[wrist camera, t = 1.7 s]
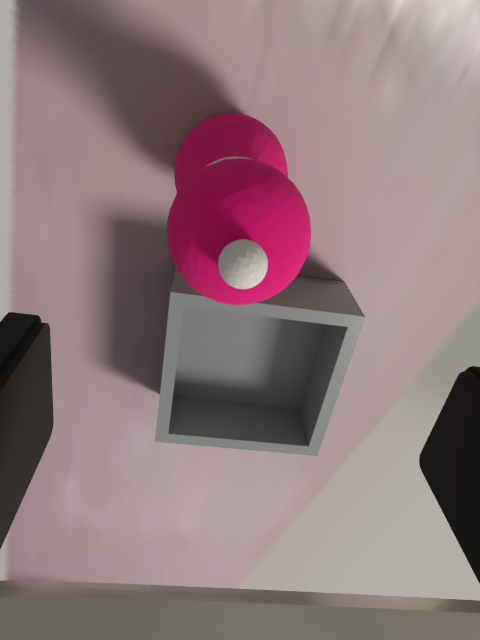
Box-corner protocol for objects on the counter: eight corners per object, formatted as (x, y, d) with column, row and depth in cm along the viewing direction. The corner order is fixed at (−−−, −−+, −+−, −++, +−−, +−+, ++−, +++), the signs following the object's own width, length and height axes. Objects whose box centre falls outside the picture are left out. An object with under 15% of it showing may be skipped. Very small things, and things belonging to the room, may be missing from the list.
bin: (176, 258, 36) (170, 291, 31) (344, 281, 38) (364, 316, 33) (162, 395, 43) (155, 441, 38) (305, 410, 45) (317, 455, 39)
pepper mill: (209, 227, 35) (202, 388, 18) (159, 138, 32) (92, 230, 14) (294, 184, 34) (377, 312, 16) (252, 86, 30) (301, 119, 13)
